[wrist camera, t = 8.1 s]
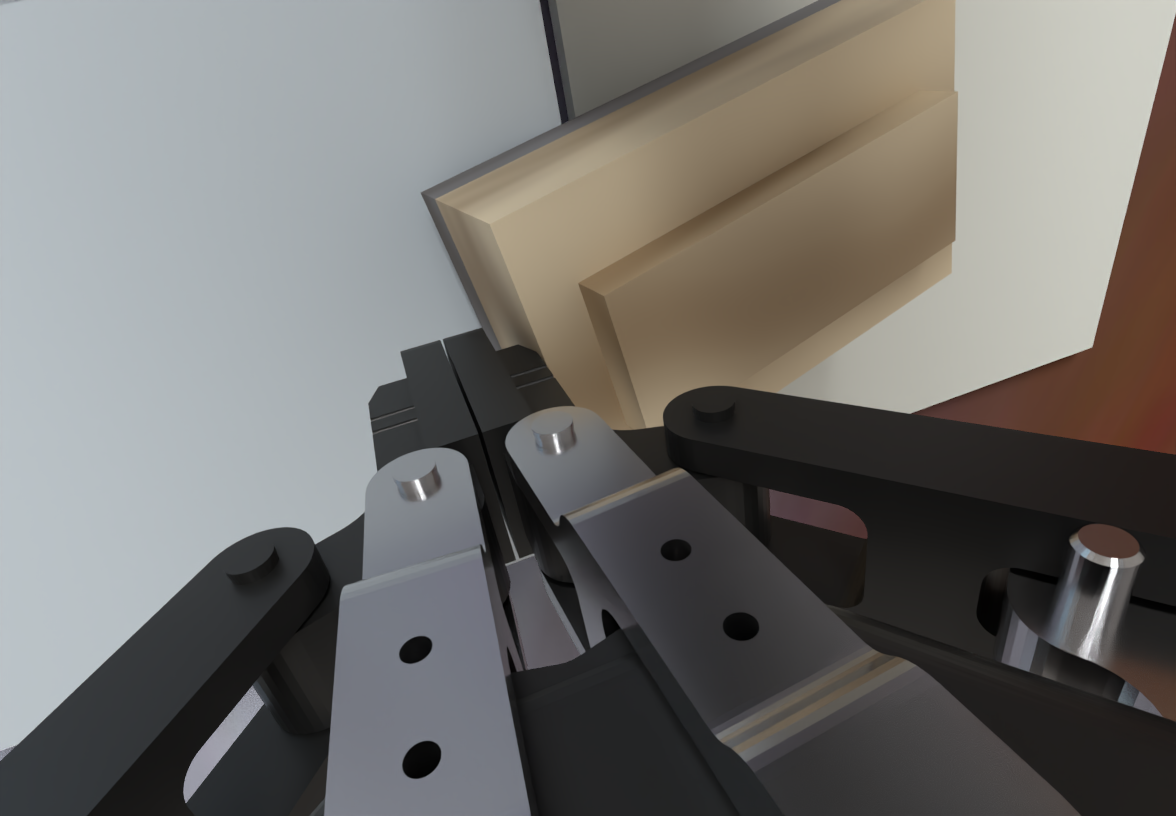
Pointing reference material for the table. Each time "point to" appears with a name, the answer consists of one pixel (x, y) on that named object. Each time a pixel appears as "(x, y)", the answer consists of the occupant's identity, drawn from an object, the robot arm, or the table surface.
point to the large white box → (216, 281)
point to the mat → (984, 173)
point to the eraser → (722, 211)
